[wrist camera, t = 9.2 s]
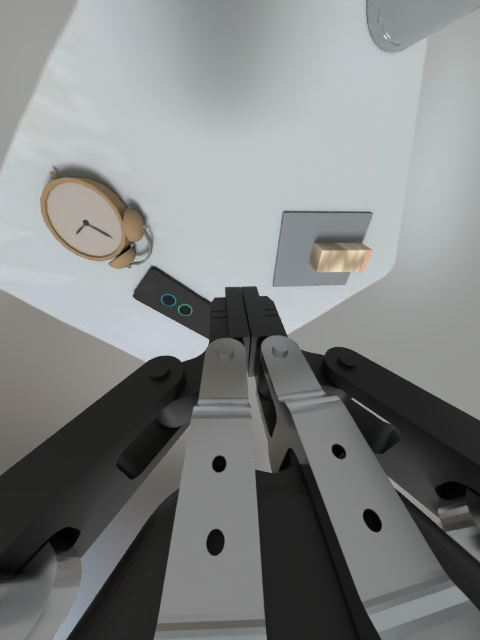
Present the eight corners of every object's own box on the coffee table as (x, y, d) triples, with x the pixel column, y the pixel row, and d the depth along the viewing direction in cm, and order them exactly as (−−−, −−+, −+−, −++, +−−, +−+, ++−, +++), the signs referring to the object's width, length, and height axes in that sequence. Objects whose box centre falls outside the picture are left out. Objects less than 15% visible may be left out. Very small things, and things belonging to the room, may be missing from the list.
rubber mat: (282, 212, 35) (283, 212, 34) (371, 212, 36) (373, 213, 36) (272, 285, 43) (273, 286, 43) (344, 283, 45) (345, 284, 44)
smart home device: (151, 267, 37) (234, 320, 47) (154, 263, 38) (233, 316, 48) (131, 297, 41) (211, 341, 50) (133, 293, 42) (211, 336, 51)
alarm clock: (41, 154, 25) (155, 228, 29) (71, 158, 29) (167, 223, 33) (34, 233, 31) (131, 287, 35) (60, 228, 35) (144, 276, 39)
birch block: (322, 250, 35) (372, 250, 36) (313, 242, 38) (359, 242, 39) (316, 272, 37) (363, 271, 38) (308, 263, 40) (352, 262, 41)
